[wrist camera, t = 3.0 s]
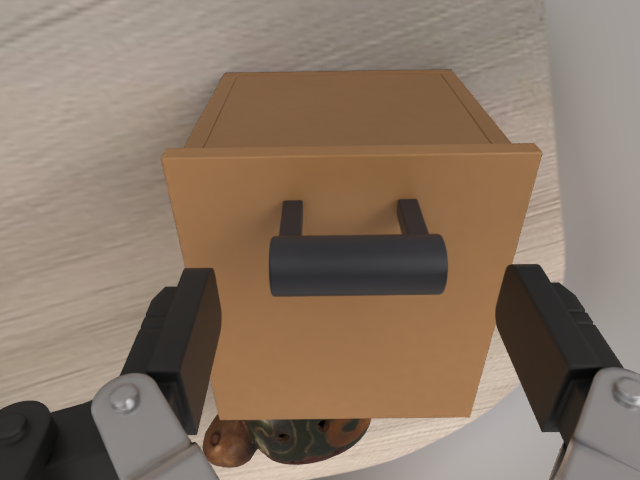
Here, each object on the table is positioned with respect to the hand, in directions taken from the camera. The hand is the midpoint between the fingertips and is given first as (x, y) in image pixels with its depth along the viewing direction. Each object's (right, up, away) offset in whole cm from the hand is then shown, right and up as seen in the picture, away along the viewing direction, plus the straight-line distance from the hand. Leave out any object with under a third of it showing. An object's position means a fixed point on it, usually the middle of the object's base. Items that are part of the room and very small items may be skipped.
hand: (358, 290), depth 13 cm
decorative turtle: (-3, -9, +28) cm, 29 cm away
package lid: (0, -1, +7) cm, 7 cm away
